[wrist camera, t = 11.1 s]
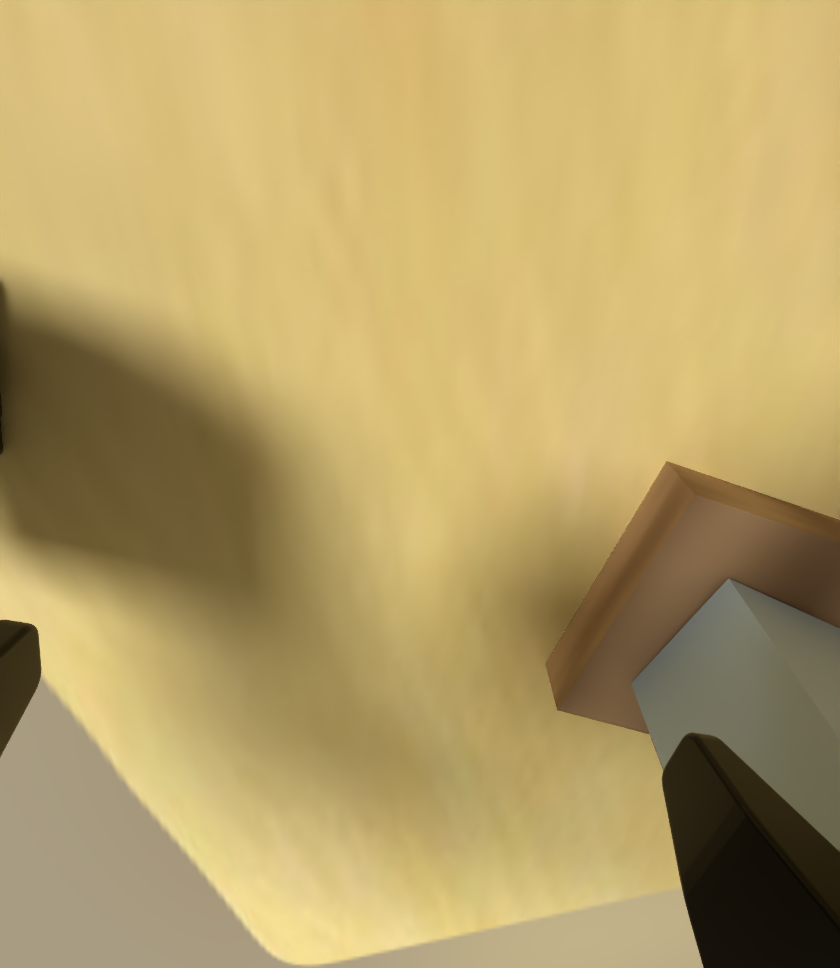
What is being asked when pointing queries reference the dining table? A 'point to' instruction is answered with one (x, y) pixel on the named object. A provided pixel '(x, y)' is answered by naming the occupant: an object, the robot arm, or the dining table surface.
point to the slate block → (755, 696)
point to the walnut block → (687, 583)
